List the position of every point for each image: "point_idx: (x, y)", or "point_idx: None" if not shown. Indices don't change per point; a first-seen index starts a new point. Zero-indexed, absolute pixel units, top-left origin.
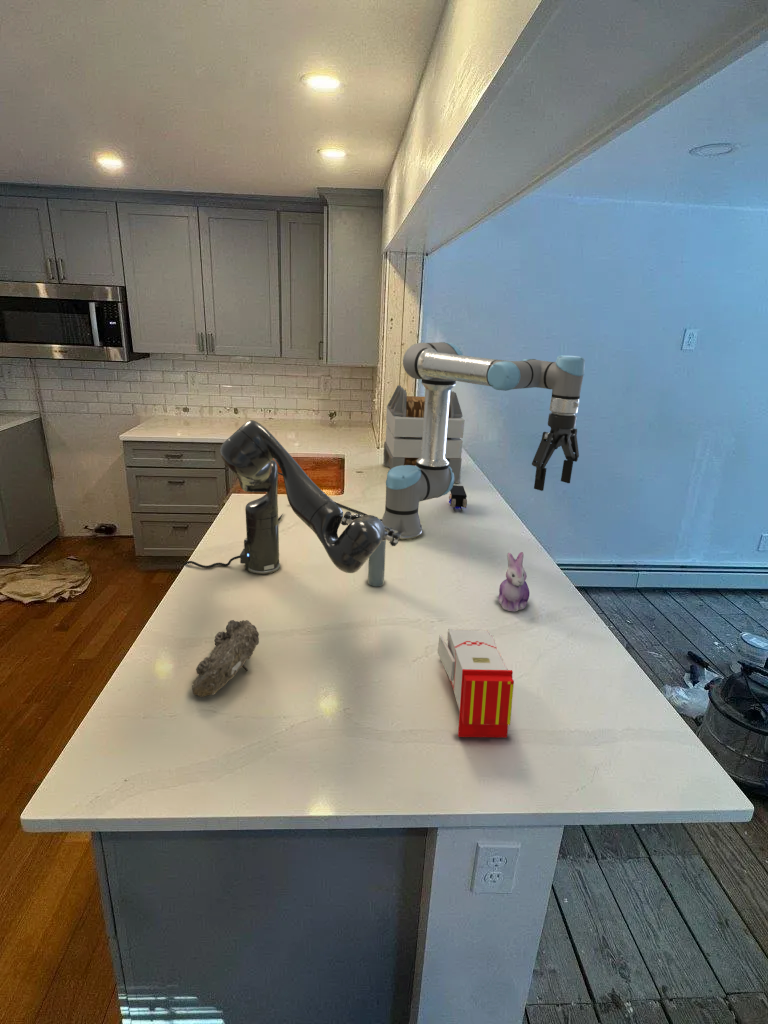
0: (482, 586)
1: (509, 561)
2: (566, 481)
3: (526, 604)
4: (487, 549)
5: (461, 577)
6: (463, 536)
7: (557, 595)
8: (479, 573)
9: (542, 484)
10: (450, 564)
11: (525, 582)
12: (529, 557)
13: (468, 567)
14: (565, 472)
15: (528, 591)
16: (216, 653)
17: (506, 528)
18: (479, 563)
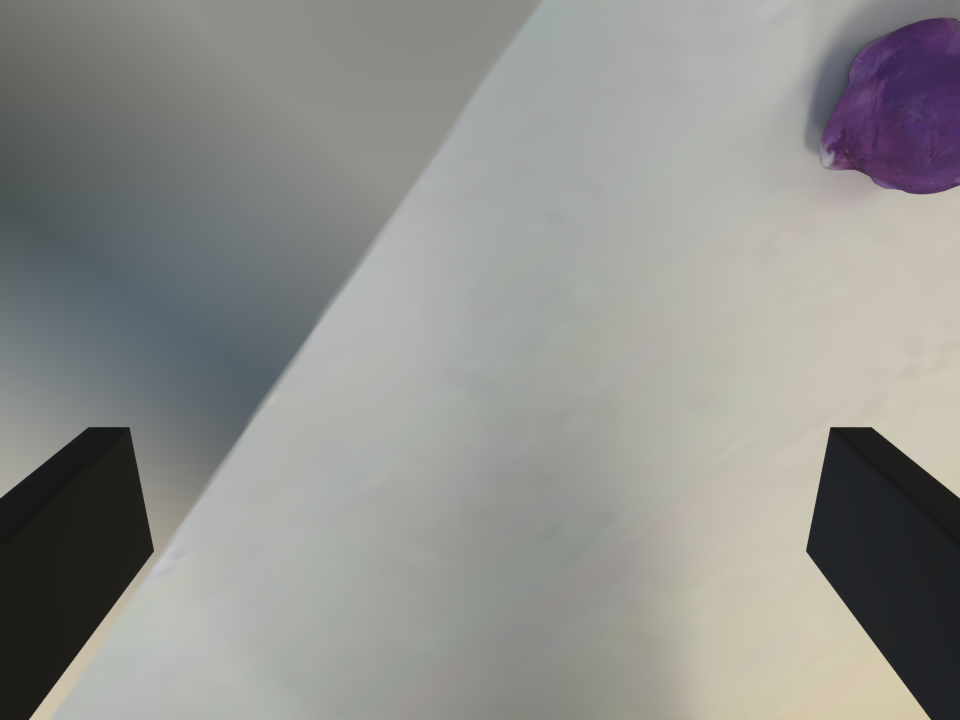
0: (841, 308)
1: None
2: (125, 474)
3: (888, 34)
4: (469, 542)
5: (829, 422)
6: (444, 683)
7: (643, 2)
8: (729, 402)
9: (936, 485)
10: (748, 532)
11: (935, 64)
12: (367, 375)
13: (712, 469)
14: (53, 607)
15: (935, 25)
16: None
17: (179, 641)
18: (634, 468)
